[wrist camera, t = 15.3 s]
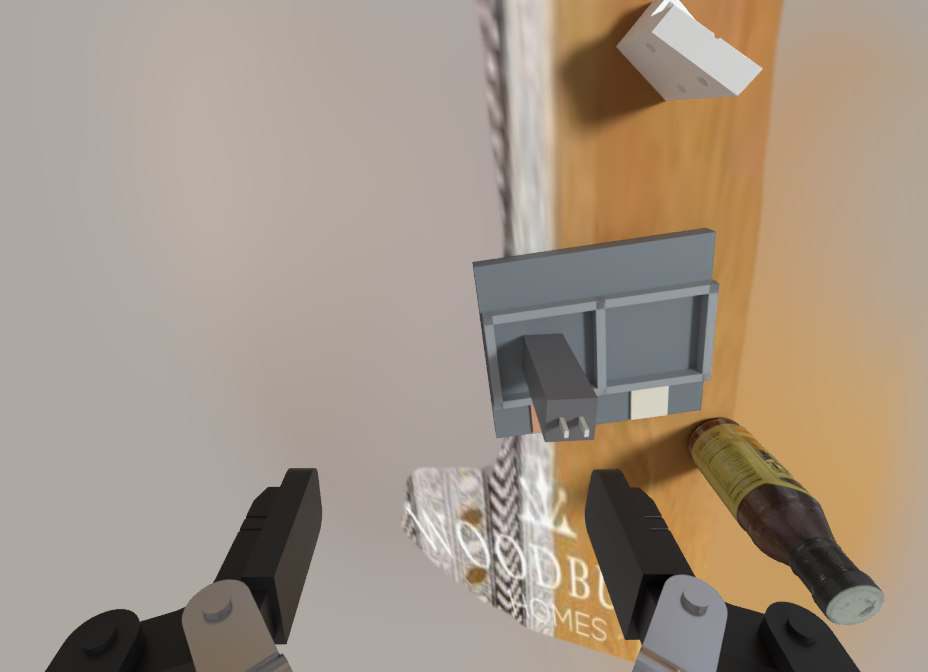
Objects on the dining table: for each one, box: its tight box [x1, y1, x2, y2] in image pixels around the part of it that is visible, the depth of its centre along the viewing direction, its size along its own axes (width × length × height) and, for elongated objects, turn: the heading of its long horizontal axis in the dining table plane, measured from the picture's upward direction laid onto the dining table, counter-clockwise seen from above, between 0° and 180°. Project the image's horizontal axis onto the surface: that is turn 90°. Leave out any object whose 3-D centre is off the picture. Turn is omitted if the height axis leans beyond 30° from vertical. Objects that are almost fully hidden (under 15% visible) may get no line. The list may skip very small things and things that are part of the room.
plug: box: [522, 333, 598, 442], centre depth 39 cm, size 4×4×13 cm
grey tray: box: [473, 228, 719, 438], centre depth 44 cm, size 18×21×3 cm
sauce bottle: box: [688, 418, 884, 625], centre depth 42 cm, size 7×6×20 cm
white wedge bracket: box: [616, 0, 763, 101], centre depth 33 cm, size 4×10×9 cm, turn 51°
